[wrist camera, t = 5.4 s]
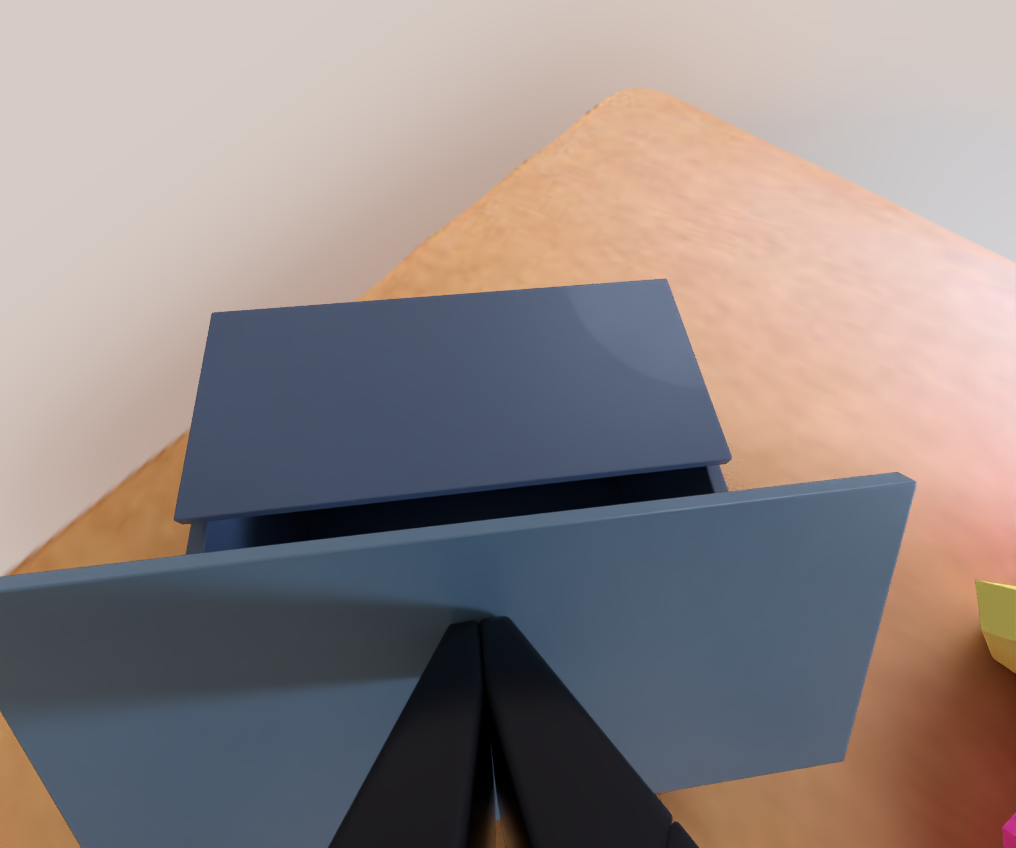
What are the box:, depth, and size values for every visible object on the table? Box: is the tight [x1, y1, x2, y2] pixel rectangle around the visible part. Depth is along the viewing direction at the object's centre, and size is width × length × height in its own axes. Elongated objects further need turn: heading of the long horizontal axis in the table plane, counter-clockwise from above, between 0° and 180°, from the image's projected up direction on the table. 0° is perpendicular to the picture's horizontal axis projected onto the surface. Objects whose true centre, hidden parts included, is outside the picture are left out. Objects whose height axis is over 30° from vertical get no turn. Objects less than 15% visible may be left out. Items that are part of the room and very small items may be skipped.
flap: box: [0, 472, 917, 848], centre depth 8 cm, size 6×13×1 cm
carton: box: [174, 279, 732, 555], centre depth 15 cm, size 12×13×8 cm
